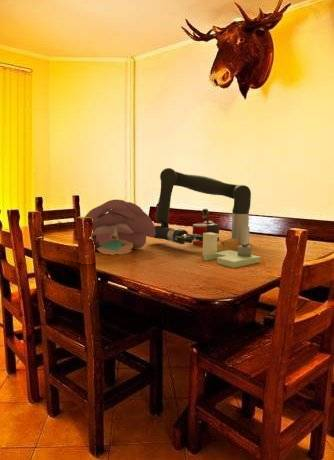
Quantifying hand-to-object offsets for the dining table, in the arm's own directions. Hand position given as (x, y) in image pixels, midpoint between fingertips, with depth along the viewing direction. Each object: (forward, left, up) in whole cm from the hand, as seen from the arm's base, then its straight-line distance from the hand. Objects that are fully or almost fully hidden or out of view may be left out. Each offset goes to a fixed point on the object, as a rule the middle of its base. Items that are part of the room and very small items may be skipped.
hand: (198, 240), depth 175 cm
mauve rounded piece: (+30, -29, -7) cm, 42 cm away
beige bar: (0, +8, -7) cm, 10 cm away
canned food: (-18, -19, -7) cm, 27 cm away
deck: (-1, +21, -7) cm, 22 cm away
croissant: (-17, +4, -7) cm, 19 cm away
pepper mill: (-34, -31, -7) cm, 46 cm away
